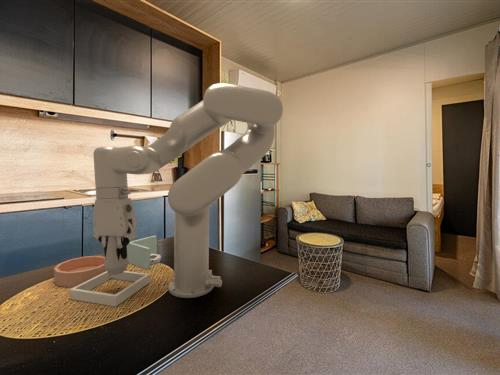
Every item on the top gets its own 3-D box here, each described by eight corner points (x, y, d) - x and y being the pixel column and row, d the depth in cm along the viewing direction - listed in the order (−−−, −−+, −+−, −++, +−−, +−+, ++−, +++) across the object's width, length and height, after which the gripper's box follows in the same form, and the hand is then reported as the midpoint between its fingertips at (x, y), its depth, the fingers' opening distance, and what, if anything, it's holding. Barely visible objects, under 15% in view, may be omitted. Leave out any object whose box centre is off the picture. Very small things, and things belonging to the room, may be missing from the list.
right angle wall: (148, 270, 83) (147, 248, 82) (126, 263, 89) (126, 242, 89) (176, 260, 93) (176, 240, 93) (155, 253, 99) (154, 235, 99)
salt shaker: (118, 277, 65) (115, 227, 64) (99, 275, 66) (96, 227, 65) (133, 268, 71) (130, 222, 70) (115, 266, 72) (113, 222, 71)
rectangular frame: (149, 282, 74) (149, 274, 73) (115, 306, 60) (115, 296, 60) (110, 277, 77) (110, 269, 76) (69, 299, 63) (69, 289, 63)
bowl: (118, 270, 82) (118, 258, 81) (82, 289, 69) (82, 275, 68) (84, 265, 85) (83, 254, 84) (43, 283, 71) (42, 269, 71)
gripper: (148, 192, 69) (151, 257, 70) (98, 192, 72) (101, 254, 73) (129, 195, 61) (133, 268, 63) (74, 195, 65) (79, 264, 66)
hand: (116, 260), depth 68 cm, fingers closed on salt shaker, 3 cm apart
